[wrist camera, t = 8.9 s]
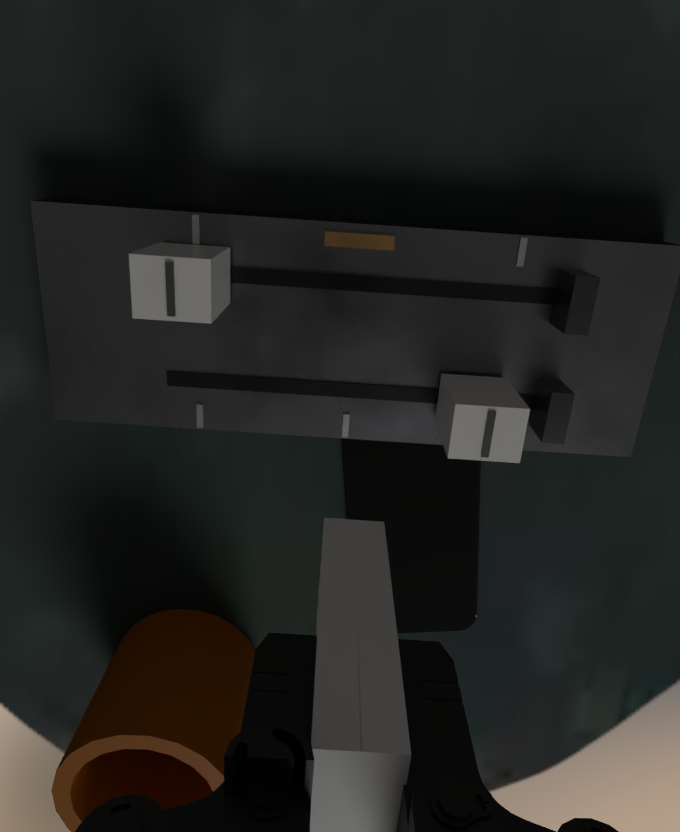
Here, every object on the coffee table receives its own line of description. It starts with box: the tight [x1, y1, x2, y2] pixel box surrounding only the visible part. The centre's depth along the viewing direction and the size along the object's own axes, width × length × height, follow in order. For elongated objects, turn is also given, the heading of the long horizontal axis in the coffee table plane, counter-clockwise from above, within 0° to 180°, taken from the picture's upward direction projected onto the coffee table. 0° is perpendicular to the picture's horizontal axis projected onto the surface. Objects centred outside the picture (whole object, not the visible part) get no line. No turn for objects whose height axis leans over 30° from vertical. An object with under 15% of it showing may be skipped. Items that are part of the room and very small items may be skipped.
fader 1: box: [129, 242, 230, 324], centre depth 25 cm, size 3×2×4 cm
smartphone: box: [342, 438, 481, 633], centre depth 34 cm, size 7×1×15 cm
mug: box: [52, 609, 255, 832], centre depth 34 cm, size 9×12×9 cm
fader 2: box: [435, 374, 530, 463], centre depth 27 cm, size 3×2×4 cm
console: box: [30, 199, 680, 457], centre depth 28 cm, size 28×10×4 cm, turn 86°
